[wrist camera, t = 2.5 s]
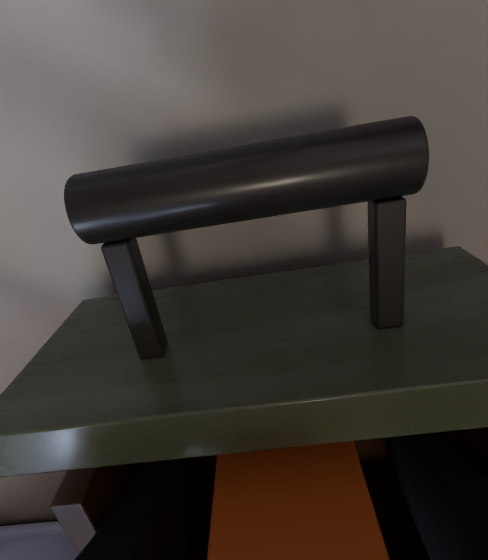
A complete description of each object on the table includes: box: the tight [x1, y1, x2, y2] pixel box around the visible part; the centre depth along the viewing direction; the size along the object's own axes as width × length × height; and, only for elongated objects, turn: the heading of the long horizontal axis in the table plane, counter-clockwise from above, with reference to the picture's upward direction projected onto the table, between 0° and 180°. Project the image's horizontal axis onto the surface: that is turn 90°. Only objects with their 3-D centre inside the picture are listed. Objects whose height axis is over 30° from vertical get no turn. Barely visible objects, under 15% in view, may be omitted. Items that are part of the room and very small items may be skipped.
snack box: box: [207, 441, 390, 560], centre depth 10 cm, size 3×4×7 cm
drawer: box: [0, 116, 488, 560], centre depth 11 cm, size 17×12×6 cm
